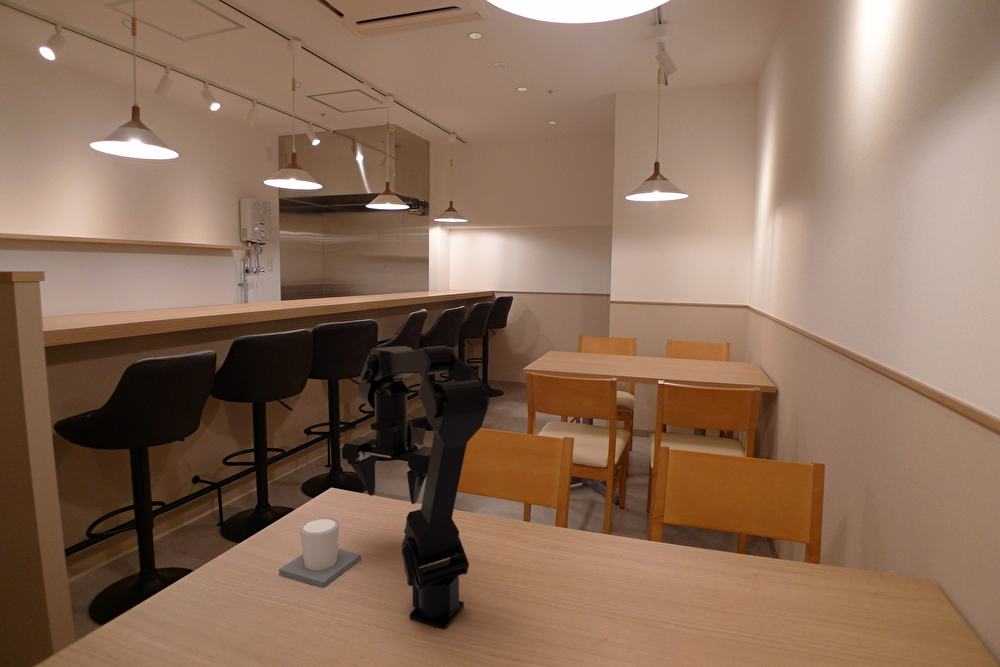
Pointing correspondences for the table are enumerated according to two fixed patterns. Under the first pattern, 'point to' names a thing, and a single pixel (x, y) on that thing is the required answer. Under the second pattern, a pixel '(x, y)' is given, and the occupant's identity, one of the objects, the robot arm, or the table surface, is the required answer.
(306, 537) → the white cup
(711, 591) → the table surface
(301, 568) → the slate plate
